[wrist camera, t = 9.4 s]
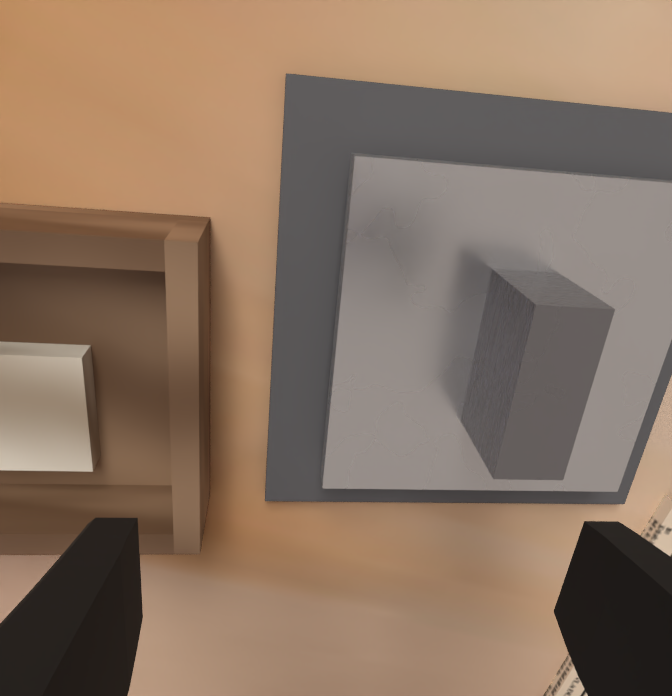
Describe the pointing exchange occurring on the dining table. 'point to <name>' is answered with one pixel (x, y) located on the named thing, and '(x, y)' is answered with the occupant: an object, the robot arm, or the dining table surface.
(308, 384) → the dark gray board
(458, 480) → the lid
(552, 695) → the newspaper
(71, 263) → the walnut box
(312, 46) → the dining table surface
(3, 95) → the dining table surface
